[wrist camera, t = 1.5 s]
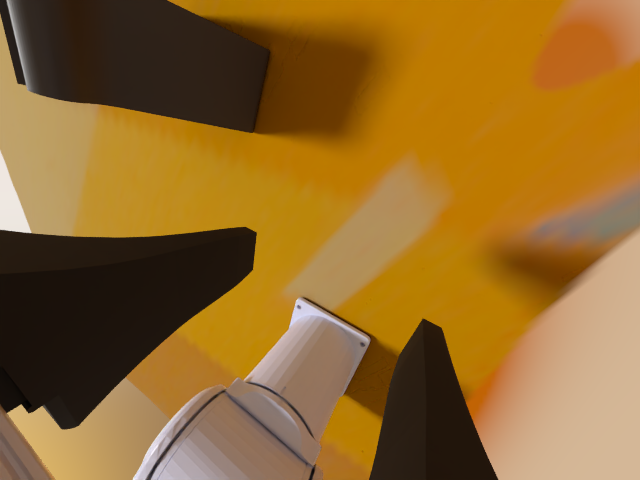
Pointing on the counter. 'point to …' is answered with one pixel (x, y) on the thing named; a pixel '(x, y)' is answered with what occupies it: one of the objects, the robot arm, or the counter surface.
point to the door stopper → (136, 58)
